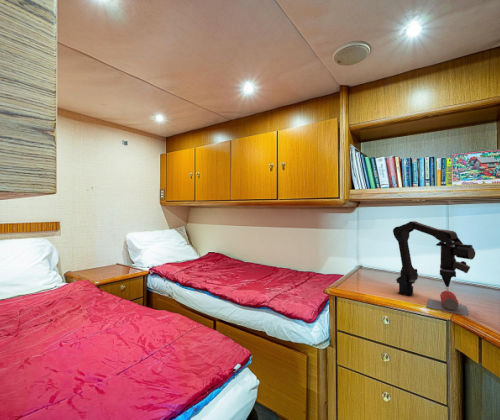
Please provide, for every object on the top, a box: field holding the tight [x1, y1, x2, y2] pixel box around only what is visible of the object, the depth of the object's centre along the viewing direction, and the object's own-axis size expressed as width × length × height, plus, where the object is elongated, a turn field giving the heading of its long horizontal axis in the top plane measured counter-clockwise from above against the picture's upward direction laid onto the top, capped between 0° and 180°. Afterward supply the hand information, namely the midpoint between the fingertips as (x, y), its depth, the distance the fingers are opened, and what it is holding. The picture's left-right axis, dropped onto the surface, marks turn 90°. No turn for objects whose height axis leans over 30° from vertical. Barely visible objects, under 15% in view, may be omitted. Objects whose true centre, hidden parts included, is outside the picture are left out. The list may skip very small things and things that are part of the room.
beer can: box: [439, 290, 459, 310], centre depth 128 cm, size 7×7×12 cm
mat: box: [426, 298, 469, 317], centre depth 129 cm, size 16×14×1 cm
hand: (447, 286), depth 128 cm, fingers closed
